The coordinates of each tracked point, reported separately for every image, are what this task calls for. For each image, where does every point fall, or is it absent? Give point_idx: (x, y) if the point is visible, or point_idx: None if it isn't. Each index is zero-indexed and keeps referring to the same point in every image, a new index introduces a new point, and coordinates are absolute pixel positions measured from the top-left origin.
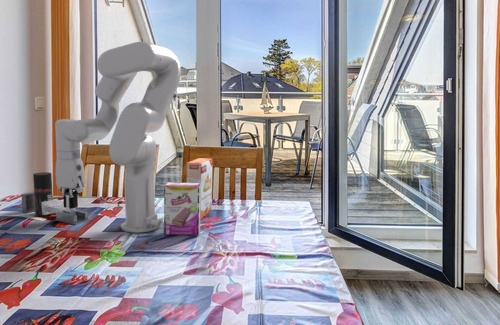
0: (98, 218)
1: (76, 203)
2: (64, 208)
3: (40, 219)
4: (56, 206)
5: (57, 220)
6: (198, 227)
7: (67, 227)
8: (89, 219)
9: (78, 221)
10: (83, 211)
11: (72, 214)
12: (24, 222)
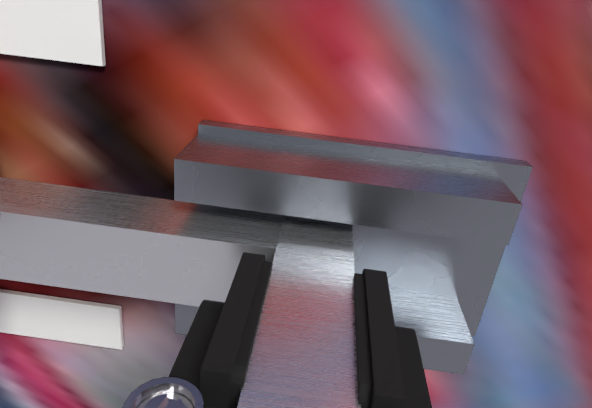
0: (576, 60)
1: (415, 354)
2: (186, 272)
3: (80, 331)
4: (15, 237)
5: None
6: None
7: (454, 394)
8: (526, 183)
9: (463, 287)
10: (440, 198)
11: None
12: (47, 402)
